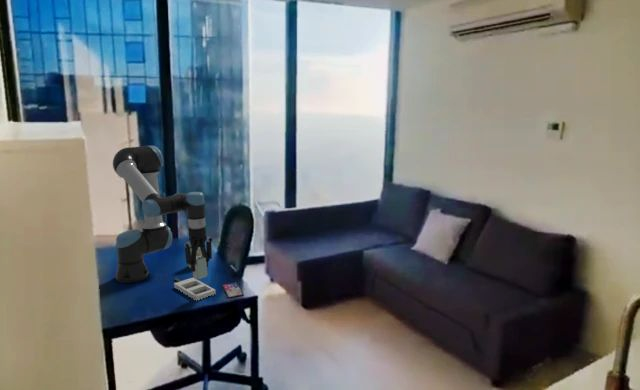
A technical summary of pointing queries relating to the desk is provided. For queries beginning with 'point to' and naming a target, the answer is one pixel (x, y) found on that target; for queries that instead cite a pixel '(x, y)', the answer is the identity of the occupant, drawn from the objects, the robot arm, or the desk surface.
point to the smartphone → (232, 290)
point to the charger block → (201, 267)
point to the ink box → (196, 254)
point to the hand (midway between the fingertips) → (200, 275)
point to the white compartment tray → (194, 288)
